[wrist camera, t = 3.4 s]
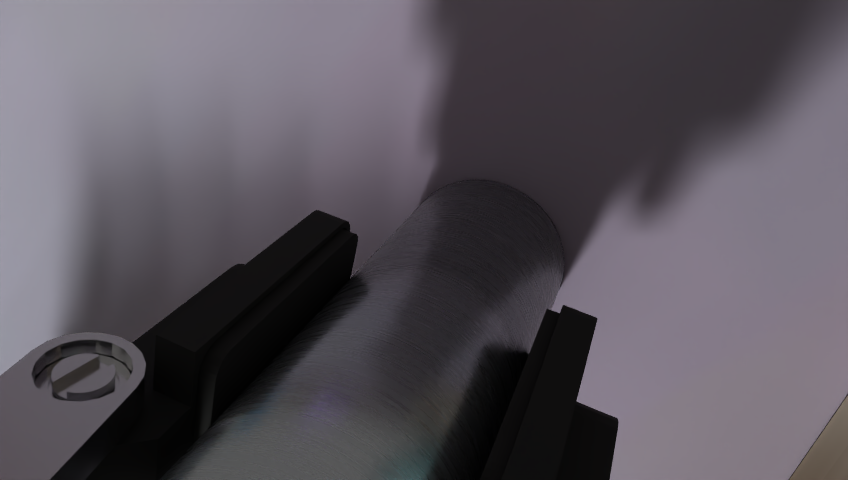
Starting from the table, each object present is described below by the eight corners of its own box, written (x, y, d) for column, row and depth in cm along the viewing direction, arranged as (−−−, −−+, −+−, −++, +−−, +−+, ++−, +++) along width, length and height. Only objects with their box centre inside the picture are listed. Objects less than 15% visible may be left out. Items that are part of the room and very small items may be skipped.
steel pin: (536, 349, 14) (293, 988, 6) (393, 292, 15) (-10, 794, 7) (587, 214, 13) (360, 817, 4) (426, 157, 13) (-48, 583, 5)
